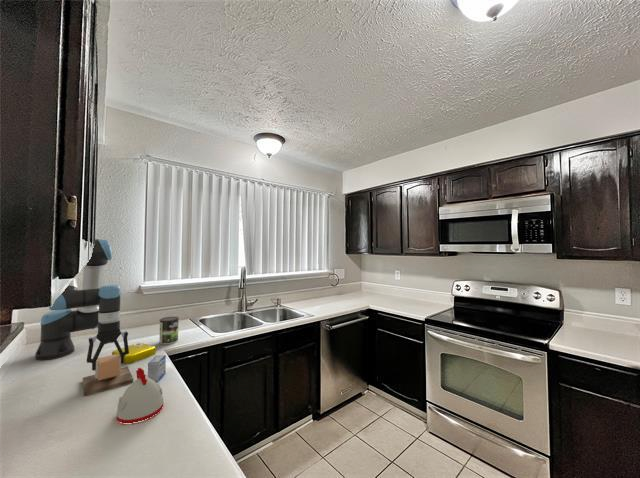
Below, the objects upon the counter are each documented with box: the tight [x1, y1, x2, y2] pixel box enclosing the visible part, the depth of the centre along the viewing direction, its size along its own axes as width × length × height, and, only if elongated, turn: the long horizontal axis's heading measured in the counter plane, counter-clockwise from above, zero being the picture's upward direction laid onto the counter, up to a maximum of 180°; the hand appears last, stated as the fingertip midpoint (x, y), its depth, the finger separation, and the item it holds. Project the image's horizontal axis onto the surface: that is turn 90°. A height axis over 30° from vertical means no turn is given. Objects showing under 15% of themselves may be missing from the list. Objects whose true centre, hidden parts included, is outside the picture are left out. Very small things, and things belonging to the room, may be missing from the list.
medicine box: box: [147, 354, 167, 383], centre depth 120 cm, size 8×4×9 cm, turn 9°
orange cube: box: [97, 354, 119, 380], centre depth 117 cm, size 7×7×7 cm
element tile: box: [111, 342, 156, 365], centre depth 143 cm, size 15×15×5 cm
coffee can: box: [159, 316, 180, 345], centre depth 165 cm, size 10×10×14 cm
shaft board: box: [82, 366, 134, 397], centre depth 116 cm, size 16×16×6 cm
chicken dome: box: [116, 367, 164, 423], centre depth 96 cm, size 14×14×15 cm
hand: (108, 374), depth 116 cm, fingers closed on orange cube, 7 cm apart
